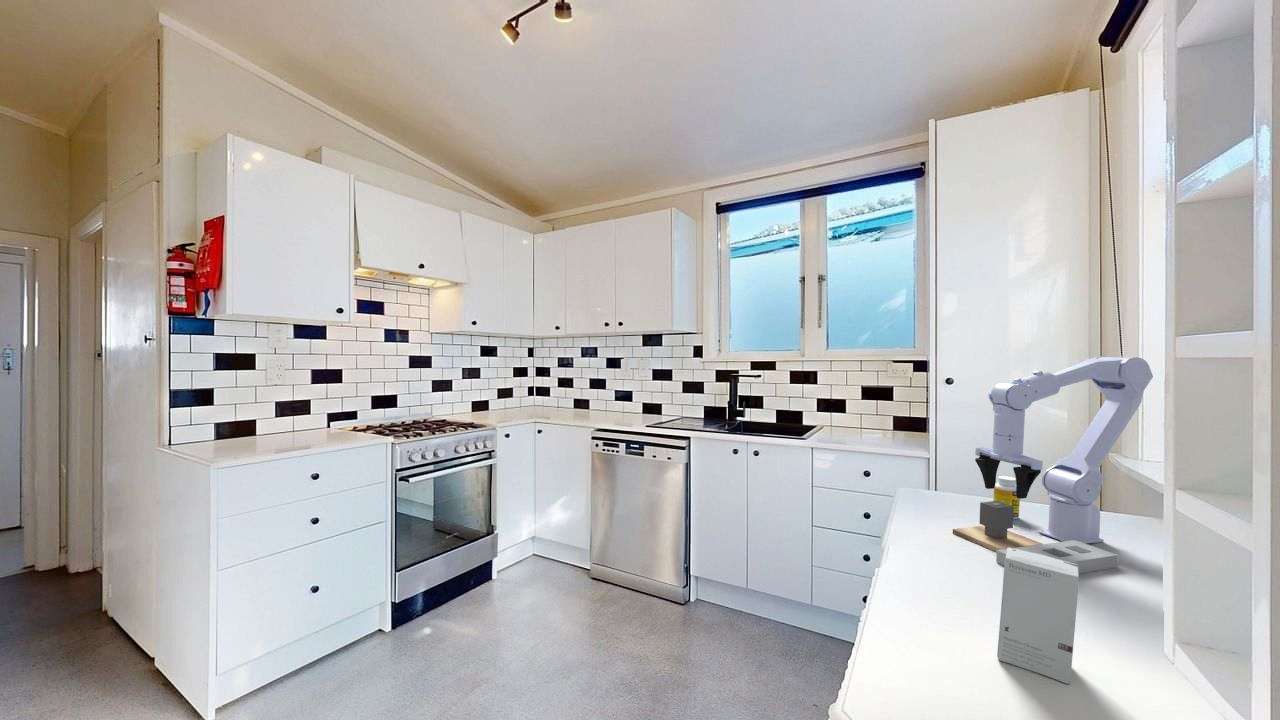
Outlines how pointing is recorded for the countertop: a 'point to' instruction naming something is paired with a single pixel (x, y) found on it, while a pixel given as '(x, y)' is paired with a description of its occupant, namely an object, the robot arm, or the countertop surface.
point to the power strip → (1071, 555)
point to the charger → (996, 518)
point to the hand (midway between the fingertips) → (1005, 493)
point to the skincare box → (1038, 613)
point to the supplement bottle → (1007, 493)
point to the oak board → (994, 544)
